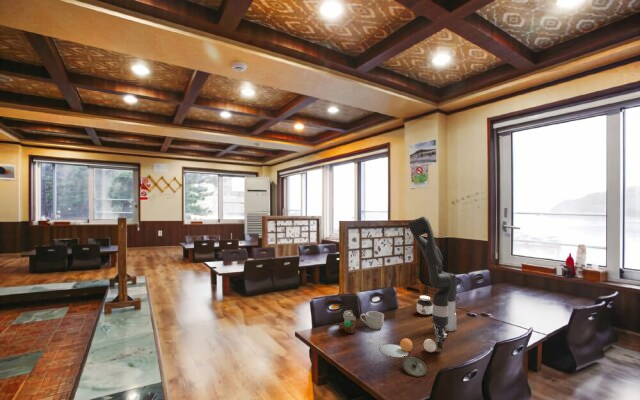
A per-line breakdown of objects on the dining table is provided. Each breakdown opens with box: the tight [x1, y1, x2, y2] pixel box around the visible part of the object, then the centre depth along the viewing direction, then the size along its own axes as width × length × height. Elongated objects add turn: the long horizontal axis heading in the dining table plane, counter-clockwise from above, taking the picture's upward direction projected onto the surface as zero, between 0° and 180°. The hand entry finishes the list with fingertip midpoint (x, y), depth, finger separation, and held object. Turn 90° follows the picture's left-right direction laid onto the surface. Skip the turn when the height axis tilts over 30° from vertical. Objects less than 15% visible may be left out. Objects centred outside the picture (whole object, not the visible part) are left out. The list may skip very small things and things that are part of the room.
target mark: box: [379, 343, 410, 358], centre depth 157 cm, size 14×14×1 cm
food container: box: [342, 309, 357, 335], centre depth 181 cm, size 12×6×10 cm, turn 5°
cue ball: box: [423, 338, 437, 353], centre depth 157 cm, size 6×6×6 cm
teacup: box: [359, 310, 385, 330], centre depth 188 cm, size 14×11×8 cm
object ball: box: [399, 337, 413, 352], centre depth 157 cm, size 6×6×6 cm
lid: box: [401, 356, 428, 378], centre depth 137 cm, size 11×10×5 cm
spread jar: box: [416, 295, 433, 317], centre depth 215 cm, size 12×11×12 cm
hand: (439, 348), depth 157 cm, fingers closed
